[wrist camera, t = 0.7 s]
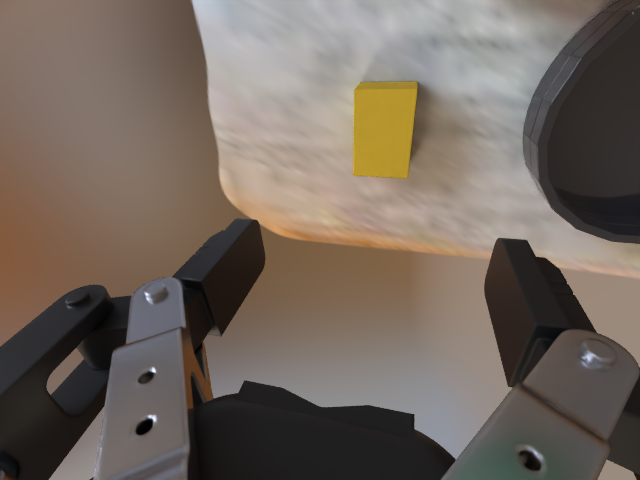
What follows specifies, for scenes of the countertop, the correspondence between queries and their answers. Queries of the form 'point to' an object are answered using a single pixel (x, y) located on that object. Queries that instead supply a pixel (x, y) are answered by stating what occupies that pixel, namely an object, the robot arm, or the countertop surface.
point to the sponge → (383, 128)
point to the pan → (591, 127)
